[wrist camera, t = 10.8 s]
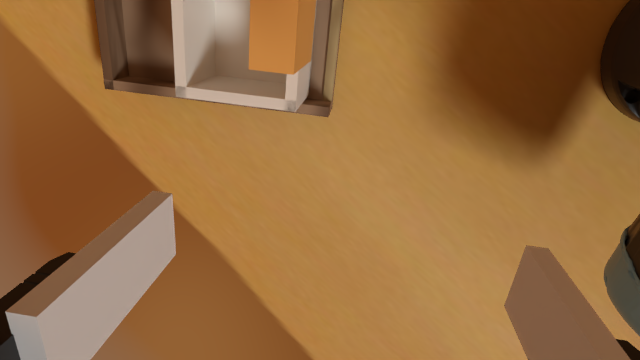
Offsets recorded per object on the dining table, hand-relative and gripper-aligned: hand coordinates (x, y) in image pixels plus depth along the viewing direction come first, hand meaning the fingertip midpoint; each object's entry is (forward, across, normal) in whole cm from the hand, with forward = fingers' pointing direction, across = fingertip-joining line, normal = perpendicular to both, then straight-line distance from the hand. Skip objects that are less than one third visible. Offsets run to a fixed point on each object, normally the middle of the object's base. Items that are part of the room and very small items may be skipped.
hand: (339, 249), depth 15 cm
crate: (+29, +10, -7) cm, 32 cm away
